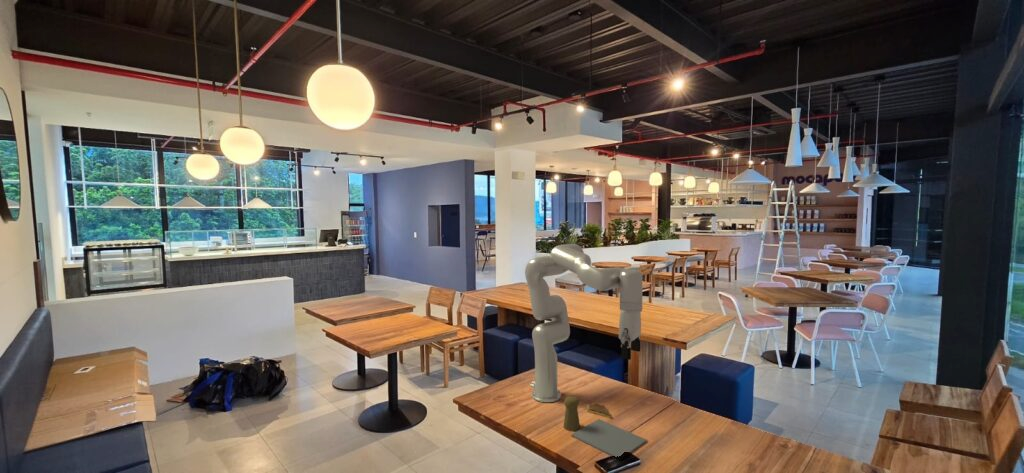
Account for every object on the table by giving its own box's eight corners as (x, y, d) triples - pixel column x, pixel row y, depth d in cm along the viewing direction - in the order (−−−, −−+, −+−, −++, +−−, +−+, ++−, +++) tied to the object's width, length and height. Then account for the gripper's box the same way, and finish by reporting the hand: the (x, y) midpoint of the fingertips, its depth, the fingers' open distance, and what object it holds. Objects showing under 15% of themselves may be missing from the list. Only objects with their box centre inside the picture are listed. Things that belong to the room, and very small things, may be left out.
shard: (611, 420, 160) (611, 415, 160) (592, 421, 160) (592, 416, 159) (603, 407, 171) (603, 402, 171) (584, 408, 170) (584, 403, 170)
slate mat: (571, 436, 149) (571, 434, 149) (598, 420, 159) (598, 418, 159) (620, 460, 134) (620, 458, 134) (646, 441, 144) (646, 439, 144)
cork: (561, 423, 158) (561, 394, 157) (577, 422, 158) (577, 393, 157) (565, 431, 152) (565, 401, 151) (581, 430, 152) (581, 400, 151)
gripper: (628, 300, 155) (628, 346, 156) (611, 309, 141) (611, 360, 142) (649, 302, 150) (649, 349, 151) (633, 312, 136) (633, 364, 137)
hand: (630, 354), depth 146 cm, fingers open, 9 cm apart
